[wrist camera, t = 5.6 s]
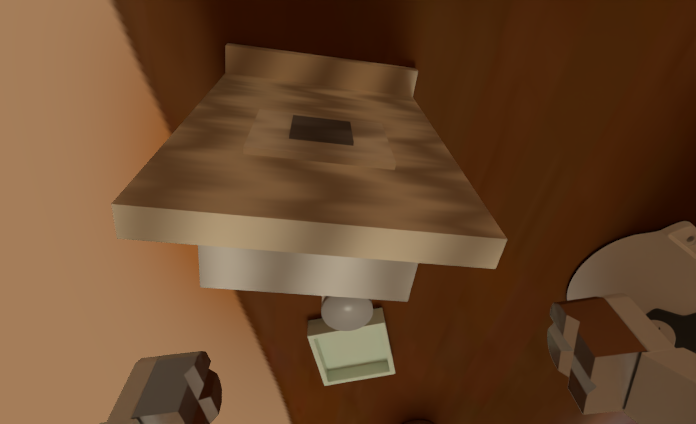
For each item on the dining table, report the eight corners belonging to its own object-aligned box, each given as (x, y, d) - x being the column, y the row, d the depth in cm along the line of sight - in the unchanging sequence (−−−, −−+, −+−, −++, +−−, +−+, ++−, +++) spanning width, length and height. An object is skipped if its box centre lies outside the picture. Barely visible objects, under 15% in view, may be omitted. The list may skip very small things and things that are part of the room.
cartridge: (374, 258, 47) (382, 302, 41) (354, 290, 49) (358, 336, 43) (333, 243, 46) (335, 286, 40) (314, 276, 48) (313, 322, 42)
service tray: (382, 307, 51) (384, 322, 49) (392, 357, 56) (395, 373, 53) (308, 320, 51) (307, 336, 49) (324, 369, 56) (324, 385, 54)
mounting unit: (415, 68, 37) (525, 193, 17) (393, 171, 42) (458, 363, 22) (228, 42, 35) (102, 150, 15) (228, 154, 40) (135, 345, 20)
